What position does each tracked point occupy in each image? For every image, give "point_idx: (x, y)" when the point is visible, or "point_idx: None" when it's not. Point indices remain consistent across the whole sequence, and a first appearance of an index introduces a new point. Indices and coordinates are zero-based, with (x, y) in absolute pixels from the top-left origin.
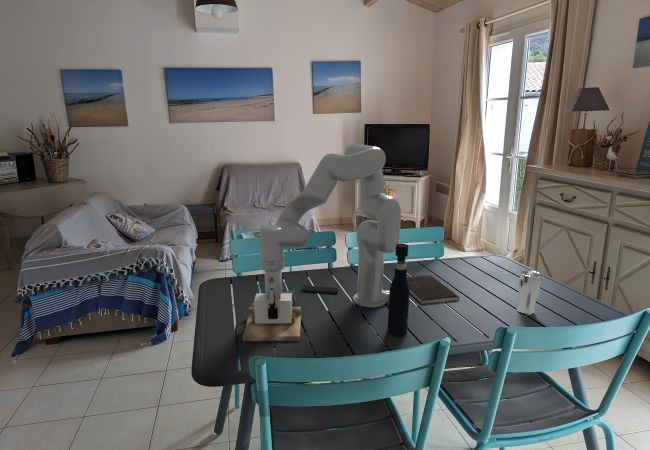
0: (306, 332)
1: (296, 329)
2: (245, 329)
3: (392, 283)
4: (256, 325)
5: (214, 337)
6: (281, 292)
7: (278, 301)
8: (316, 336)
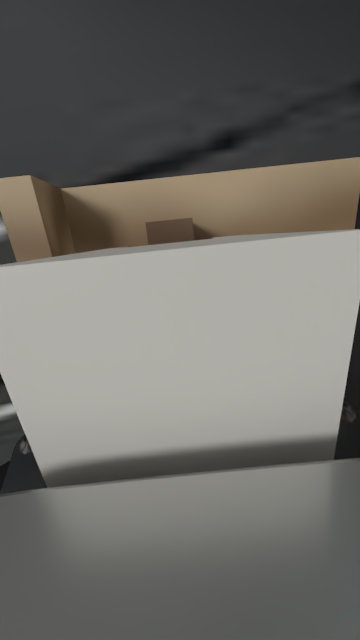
0: (245, 130)
1: (272, 194)
2: None
3: None
4: None
5: None
6: (357, 588)
7: (331, 437)
8: (302, 39)
